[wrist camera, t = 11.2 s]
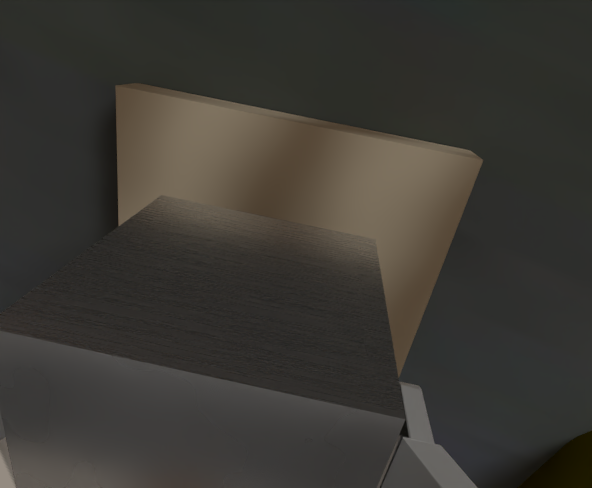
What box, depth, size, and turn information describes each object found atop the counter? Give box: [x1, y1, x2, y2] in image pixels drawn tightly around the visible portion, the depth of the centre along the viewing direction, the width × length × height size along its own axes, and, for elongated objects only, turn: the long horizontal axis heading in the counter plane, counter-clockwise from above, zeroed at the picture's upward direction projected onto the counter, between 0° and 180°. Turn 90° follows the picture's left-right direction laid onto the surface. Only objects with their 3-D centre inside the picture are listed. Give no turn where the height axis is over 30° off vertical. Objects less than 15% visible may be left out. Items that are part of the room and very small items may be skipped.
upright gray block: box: [0, 195, 405, 488], centre depth 9 cm, size 6×6×6 cm
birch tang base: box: [116, 83, 483, 378], centre depth 14 cm, size 12×10×6 cm
